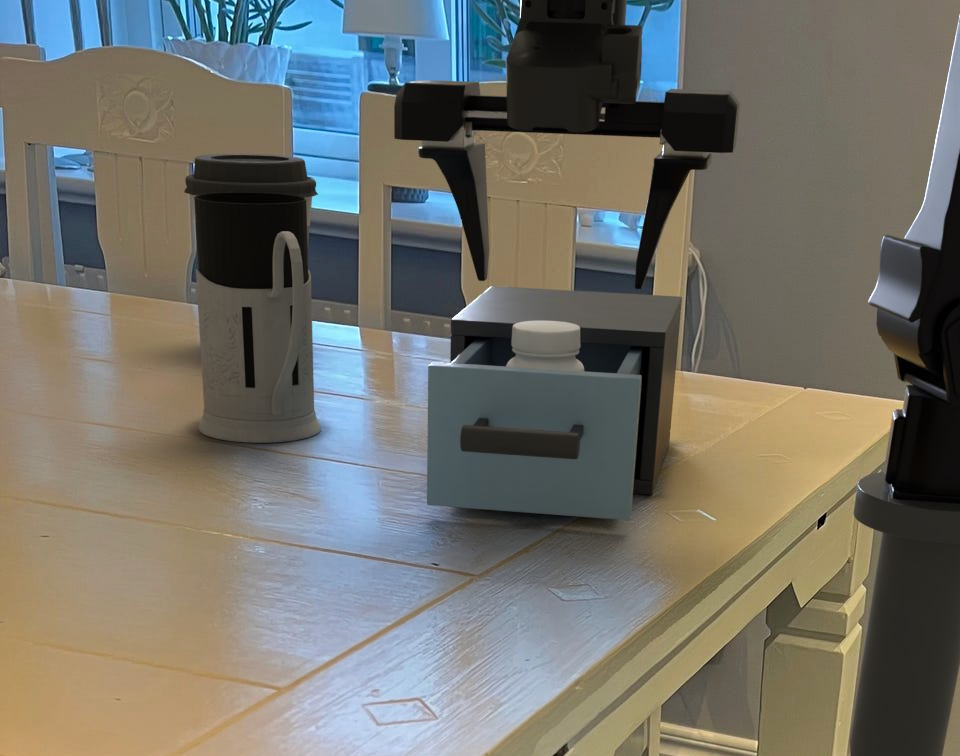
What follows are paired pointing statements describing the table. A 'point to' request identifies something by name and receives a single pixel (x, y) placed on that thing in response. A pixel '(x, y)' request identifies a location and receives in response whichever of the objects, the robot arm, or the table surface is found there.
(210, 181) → the coffee cup
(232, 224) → the glass holder
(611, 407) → the drawer
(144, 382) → the table surface
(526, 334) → the pill bottle
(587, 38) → the robot arm
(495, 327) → the cabinet
